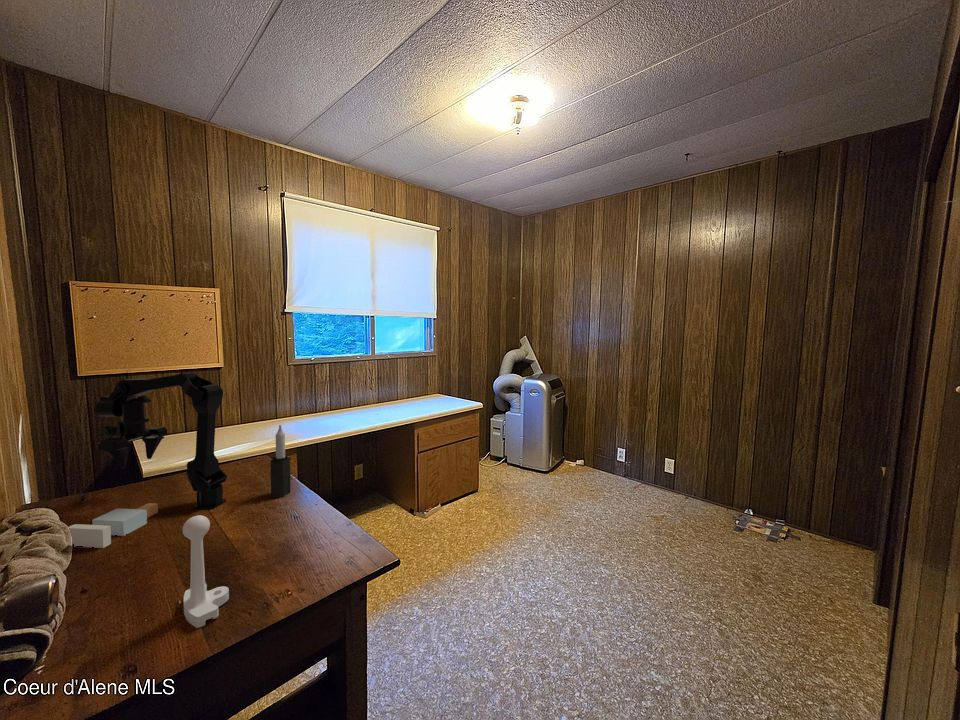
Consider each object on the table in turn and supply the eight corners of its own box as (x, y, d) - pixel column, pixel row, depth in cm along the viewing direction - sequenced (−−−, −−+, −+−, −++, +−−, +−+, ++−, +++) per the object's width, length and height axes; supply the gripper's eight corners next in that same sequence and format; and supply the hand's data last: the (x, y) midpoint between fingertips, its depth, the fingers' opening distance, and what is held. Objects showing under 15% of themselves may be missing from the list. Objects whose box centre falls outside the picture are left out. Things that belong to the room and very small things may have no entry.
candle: (281, 498, 132) (281, 427, 130) (269, 496, 133) (268, 426, 131) (292, 492, 137) (291, 423, 135) (279, 490, 138) (279, 422, 136)
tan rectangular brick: (158, 512, 119) (157, 503, 119) (140, 522, 113) (140, 512, 113) (148, 512, 119) (148, 503, 119) (130, 521, 113) (130, 512, 113)
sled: (147, 523, 112) (146, 509, 112) (123, 535, 105) (123, 521, 105) (117, 522, 112) (117, 508, 112) (92, 534, 106) (92, 519, 105)
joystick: (179, 602, 80) (177, 511, 79) (221, 586, 86) (220, 500, 84) (190, 631, 73) (188, 530, 71) (236, 611, 78) (234, 517, 77)
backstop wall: (111, 543, 101) (110, 525, 101) (103, 548, 99) (102, 529, 99) (75, 542, 102) (74, 524, 101) (66, 546, 100) (66, 527, 99)
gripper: (137, 410, 134) (139, 454, 135) (79, 422, 115) (82, 473, 116) (167, 411, 133) (169, 454, 134) (114, 423, 115) (117, 473, 116)
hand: (136, 463), depth 125 cm, fingers open, 9 cm apart
